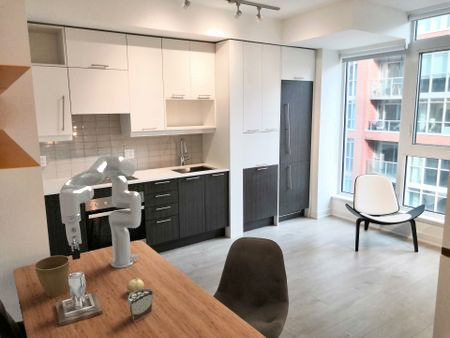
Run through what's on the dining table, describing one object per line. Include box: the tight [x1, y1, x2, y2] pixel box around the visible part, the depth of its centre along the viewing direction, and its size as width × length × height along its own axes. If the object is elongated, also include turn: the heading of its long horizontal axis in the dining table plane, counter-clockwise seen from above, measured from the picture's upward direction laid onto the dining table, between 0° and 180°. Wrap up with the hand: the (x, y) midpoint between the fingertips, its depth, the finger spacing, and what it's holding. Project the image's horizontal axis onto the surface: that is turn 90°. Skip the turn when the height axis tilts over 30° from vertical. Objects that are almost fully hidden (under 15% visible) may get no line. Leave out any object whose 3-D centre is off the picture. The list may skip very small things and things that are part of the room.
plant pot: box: [33, 255, 70, 298], centre depth 164 cm, size 15×15×16 cm
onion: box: [126, 276, 145, 294], centre depth 165 cm, size 8×8×7 cm
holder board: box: [55, 292, 103, 327], centre depth 151 cm, size 17×17×3 cm
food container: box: [127, 288, 155, 323], centre depth 147 cm, size 12×6×10 cm, turn 141°
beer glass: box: [67, 271, 87, 310], centre depth 150 cm, size 7×7×15 cm
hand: (74, 254), depth 151 cm, fingers open, 9 cm apart
